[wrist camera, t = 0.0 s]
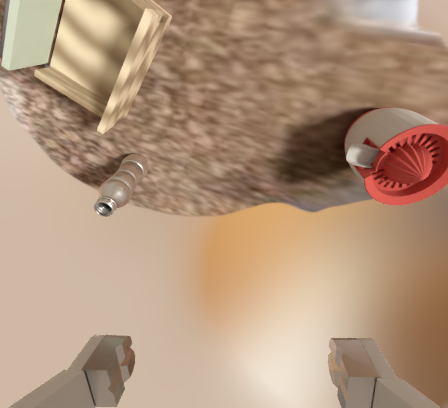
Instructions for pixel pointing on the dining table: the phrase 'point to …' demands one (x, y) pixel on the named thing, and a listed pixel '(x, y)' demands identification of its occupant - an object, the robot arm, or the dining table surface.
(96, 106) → the tray
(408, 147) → the citrus juicer
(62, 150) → the dining table surface
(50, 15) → the tailgate
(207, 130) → the dining table surface
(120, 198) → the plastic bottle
